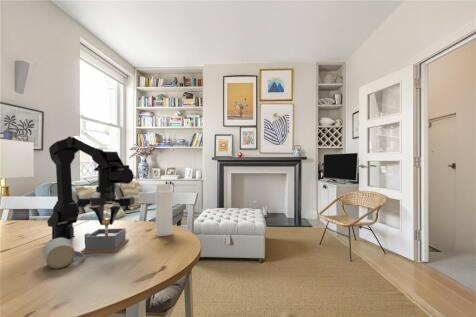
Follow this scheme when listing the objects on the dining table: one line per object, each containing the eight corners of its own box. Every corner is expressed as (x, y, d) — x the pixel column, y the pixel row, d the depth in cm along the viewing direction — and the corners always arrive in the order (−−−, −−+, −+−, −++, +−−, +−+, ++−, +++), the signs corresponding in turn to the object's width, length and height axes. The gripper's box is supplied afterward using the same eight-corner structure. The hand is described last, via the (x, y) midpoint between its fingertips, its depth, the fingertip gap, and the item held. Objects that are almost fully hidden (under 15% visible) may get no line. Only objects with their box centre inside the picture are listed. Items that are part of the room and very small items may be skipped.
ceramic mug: (45, 273, 70) (46, 246, 71) (42, 264, 76) (43, 239, 76) (88, 263, 78) (88, 239, 78) (82, 256, 84) (82, 233, 84)
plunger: (89, 241, 88) (89, 221, 88) (100, 234, 96) (100, 216, 96) (113, 240, 88) (113, 221, 88) (122, 233, 96) (122, 216, 97)
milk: (172, 234, 107) (172, 184, 108) (158, 237, 104) (158, 185, 105) (168, 231, 113) (169, 183, 113) (155, 233, 110) (155, 184, 110)
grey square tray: (76, 253, 85) (76, 237, 85) (93, 242, 97) (93, 228, 97) (116, 252, 86) (116, 236, 87) (128, 241, 98) (128, 227, 99)
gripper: (67, 185, 83) (67, 231, 83) (124, 184, 85) (124, 229, 85) (85, 182, 94) (84, 223, 94) (135, 182, 96) (134, 222, 96)
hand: (106, 224), depth 92 cm, fingers closed on plunger, 3 cm apart
